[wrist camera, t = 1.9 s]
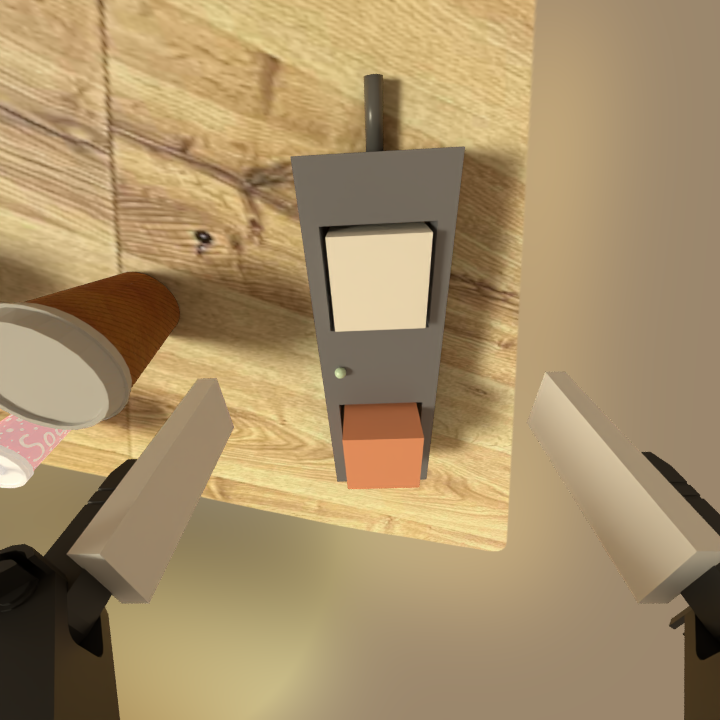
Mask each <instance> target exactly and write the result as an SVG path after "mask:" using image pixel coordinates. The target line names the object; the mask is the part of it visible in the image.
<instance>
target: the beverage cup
mask: <svg viewBox="0 0 720 720" xmlns="http://www.w3.org/2000/svg"><path fill="white" fill-rule="evenodd" d="M70 431H71V430H62V429H53V428H49V427H44V426H40V425H37V424H33V423H30V422H28V421H25V420H23V419H20V418H18V417H16V416H14V415H12V414H11V415H9V416H8V417H6V418H5V419H3V420H2V421H0V487H1V488H16V487H20V486H23V485H24V484H25V483H26V482H27V481H28V479H30V478H31V476H32V475H33V474H34V470H35V468H36V467H37V466H38V465H39V464H40V463H41V462H42V461H43V460H44V459H45V458H46V457H47V456H48V454H49V453H50V452H51V451H52V450H53V449H54V448H55V447H56V446H57V445H58V444H59V443H60V441H61V440H62V439H63V438H64V437H65V436H66V435H67V434H68V433H69V432H70Z"/></svg>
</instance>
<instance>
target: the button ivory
mask: <svg viewBox="0 0 720 720" xmlns="http://www.w3.org/2000/svg"><path fill="white" fill-rule="evenodd" d="M432 238H433V232H432V231H431V229H430V228H429V227H428V226H427V225H426V224H425V223H424V222H423V221H421V222H401V223H381V224H361V225H342V226H330V228H329V230H328V232H327V235H326V237H325V239H326V249H327V258H328V268H329V277H330V287H331V296H332V306H333V315H334V325H335V332H341V331H366V330H391V329H416V328H425V327H426V315H427V302H428V289H429V277H430V264H431V251H432Z"/></svg>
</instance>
